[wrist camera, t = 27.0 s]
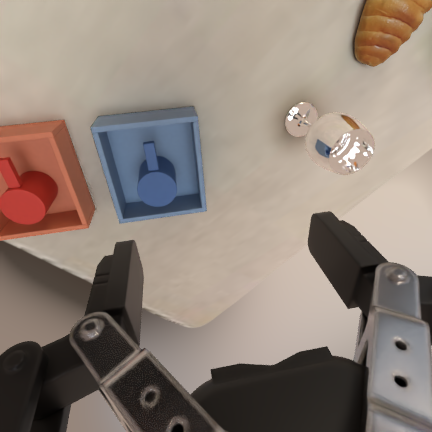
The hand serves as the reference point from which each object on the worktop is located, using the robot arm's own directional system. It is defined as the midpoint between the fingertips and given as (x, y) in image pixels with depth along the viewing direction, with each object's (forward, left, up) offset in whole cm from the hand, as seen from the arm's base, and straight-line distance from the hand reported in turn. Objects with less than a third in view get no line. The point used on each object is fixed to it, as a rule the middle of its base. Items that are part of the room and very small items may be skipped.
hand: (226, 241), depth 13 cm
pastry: (-8, +24, -26) cm, 36 cm away
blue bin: (+6, -4, -26) cm, 27 cm away
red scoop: (+6, -20, -26) cm, 33 cm away
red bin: (+6, -20, -26) cm, 33 cm away
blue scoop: (+6, -4, -26) cm, 27 cm away
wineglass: (+3, +15, -26) cm, 30 cm away
